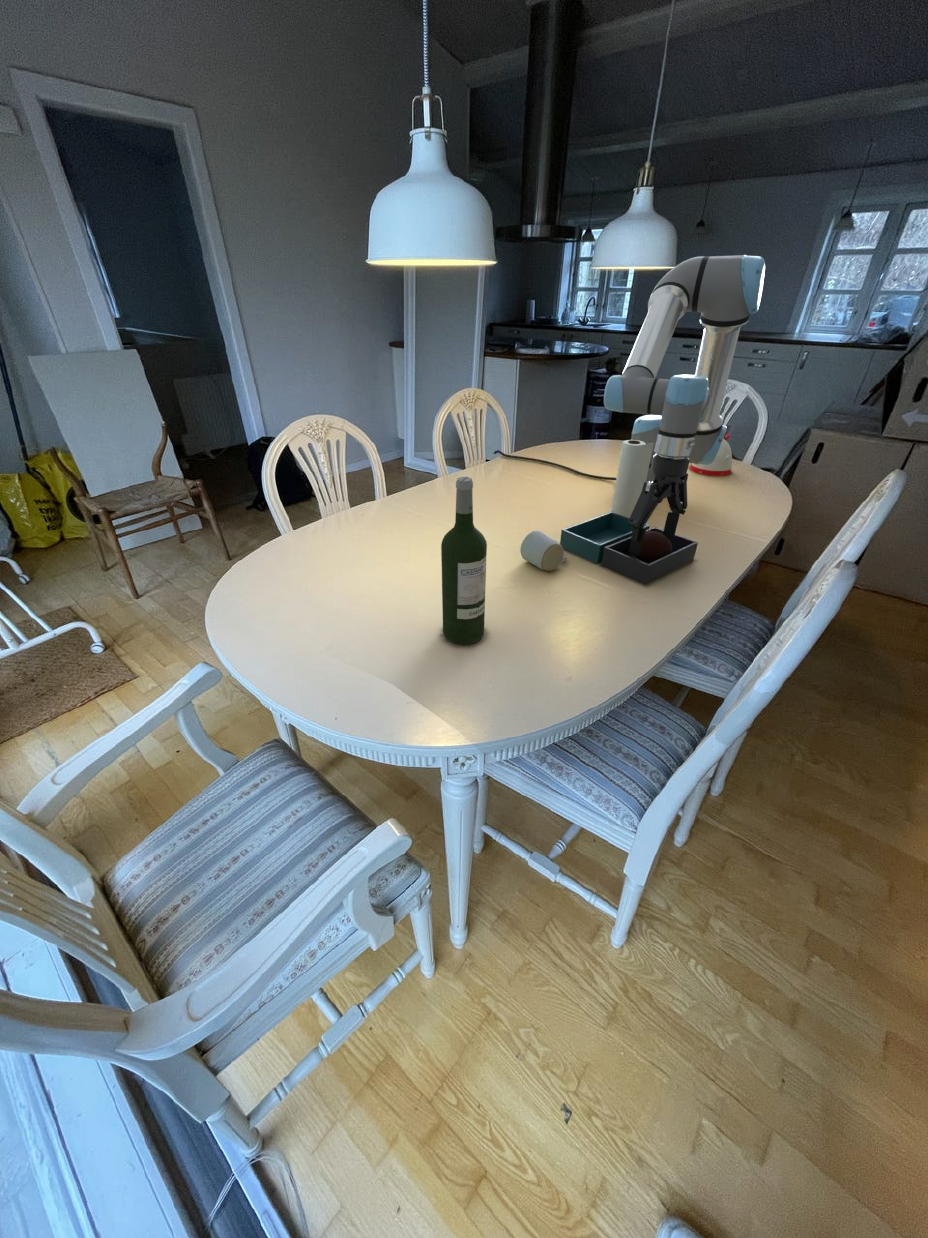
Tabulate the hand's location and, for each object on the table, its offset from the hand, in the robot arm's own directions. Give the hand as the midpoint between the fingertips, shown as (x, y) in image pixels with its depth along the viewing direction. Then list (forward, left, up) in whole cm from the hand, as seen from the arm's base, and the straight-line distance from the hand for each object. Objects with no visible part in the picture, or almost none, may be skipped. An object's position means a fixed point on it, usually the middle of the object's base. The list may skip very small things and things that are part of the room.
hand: (651, 546), depth 120 cm
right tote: (0, 0, -5) cm, 5 cm away
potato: (0, 0, -4) cm, 4 cm away
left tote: (-14, 0, -5) cm, 14 cm away
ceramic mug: (-15, -20, -5) cm, 25 cm away
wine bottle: (-4, -54, -5) cm, 54 cm away
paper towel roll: (-22, +20, -5) cm, 30 cm away
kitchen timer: (-31, +85, -5) cm, 91 cm away
